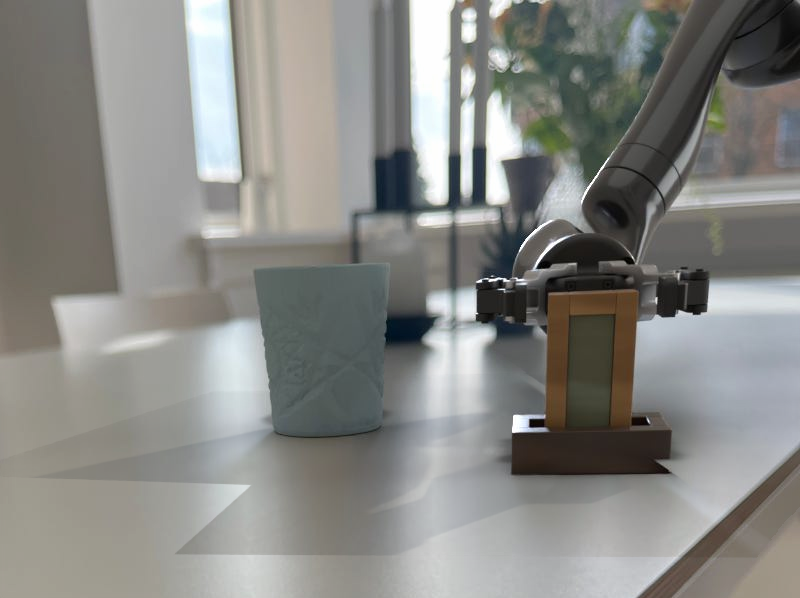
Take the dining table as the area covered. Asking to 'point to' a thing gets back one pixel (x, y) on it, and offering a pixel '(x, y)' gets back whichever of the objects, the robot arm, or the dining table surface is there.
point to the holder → (590, 446)
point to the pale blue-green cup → (324, 346)
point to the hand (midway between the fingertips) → (594, 301)
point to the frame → (590, 358)
